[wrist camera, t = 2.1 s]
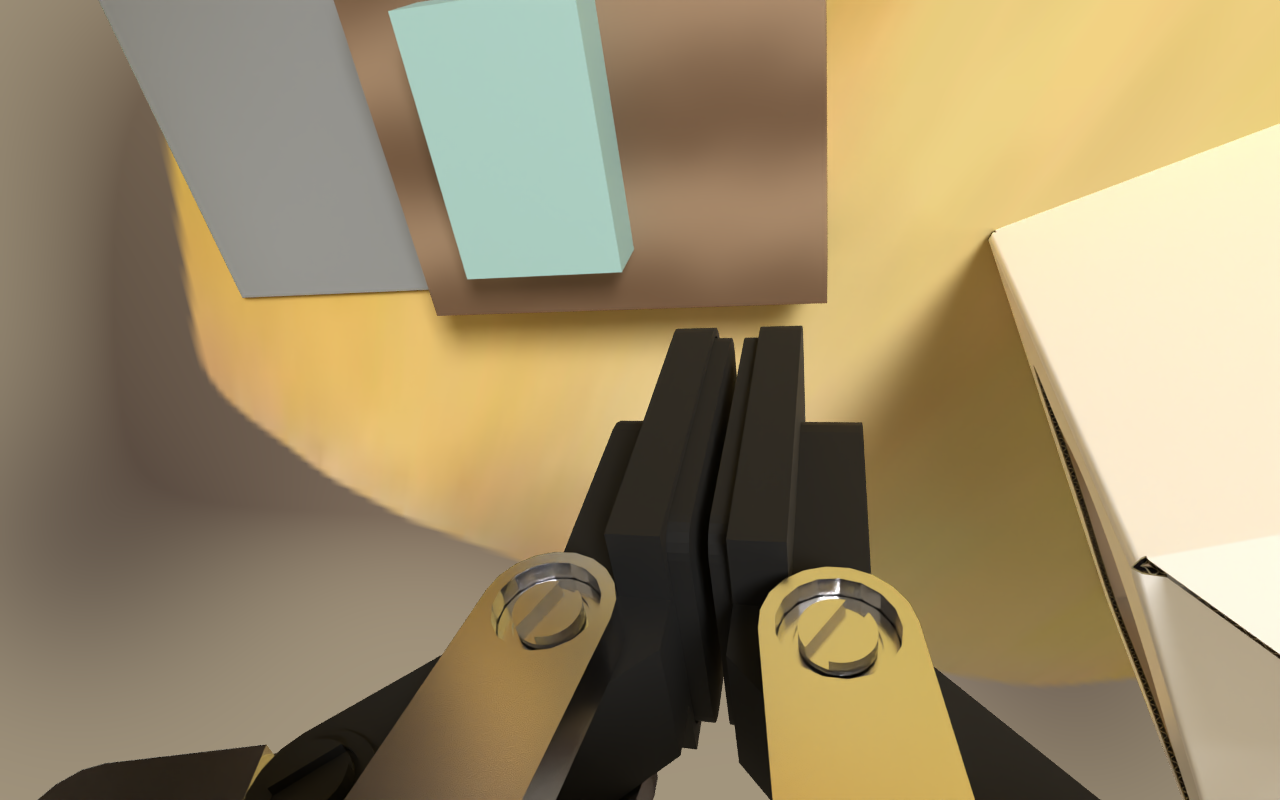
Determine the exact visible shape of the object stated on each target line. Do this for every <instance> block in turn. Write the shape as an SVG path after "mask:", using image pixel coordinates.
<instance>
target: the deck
mask: <svg viewBox="0 0 1280 800" xmlns="http://www.w3.org/2000/svg"><path fill="white" fill-rule="evenodd" d="M423 1H429V0H334V3H335V6H336V9H337V13H338V16H339V19H340V22H341V25H342V28H343V31H344V34H345V37H346V40H347V43H348V46H349V49H350V52H351V55H352V58H353V61H354V64H355V67H356V70H357V73H358V76H359V79H360V82H361V85H362V88H363V91H364V94H365V97H366V101H367V104H368V107H369V110H370V113H371V116H372V119H373V122H374V125H375V128H376V131H377V134H378V137H379V140H380V143H381V146H382V149H383V152H384V155H385V158H386V161H387V164H388V167H389V170H390V173H391V176H392V179H393V182H394V186H395V189H396V192H397V195H398V198H399V201H400V204H401V207H402V210H403V213H404V216H405V219H406V222H407V225H408V228H409V231H410V234H411V237H412V240H413V243H414V246H415V249H416V252H417V255H418V258H419V261H420V264H421V267H422V270H423V274H424V277H425V280H426V283H427V286H428V289H429V292H430V295H431V298H432V301H433V304H434V307H435V310H436V313H437V316H445V315H476V314H506V313H537V312H567V311H597V310H628V309H658V308H689V307H719V306H750V305H780V304H811V303H827V37H826V0H595V5H596V11H597V17H598V24H599V30H600V36H601V43H602V49H603V55H604V62H605V68H606V75H607V81H608V87H609V94H610V100H611V106H612V113H613V119H614V125H615V132H616V138H617V145H618V151H619V157H620V164H621V170H622V176H623V183H624V189H625V196H626V202H627V208H628V215H629V221H630V227H631V234H632V240H633V246H634V250H633V252H632V254H631V256H630V258H629V260H628V262H627V264H626V265H625V267H624V269H623V271H622V272H616V273H595V274H573V275H551V276H530V277H508V278H486V279H467V277H466V273H465V270H464V266H463V263H462V260H461V256H460V253H459V250H458V246H457V243H456V239H455V236H454V233H453V229H452V226H451V222H450V219H449V216H448V212H447V209H446V206H445V202H444V199H443V195H442V192H441V189H440V185H439V182H438V178H437V175H436V172H435V168H434V165H433V162H432V158H431V155H430V151H429V148H428V145H427V141H426V138H425V135H424V131H423V128H422V124H421V121H420V118H419V114H418V111H417V107H416V104H415V101H414V97H413V94H412V91H411V87H410V84H409V80H408V77H407V74H406V70H405V67H404V63H403V60H402V57H401V53H400V50H399V47H398V43H397V40H396V36H395V33H394V30H393V26H392V23H391V19H390V16H389V13H388V11H390V10H394V9H397V8H400V7H404V6H407V5H410V4H413V3H417V2H423Z"/></svg>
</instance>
